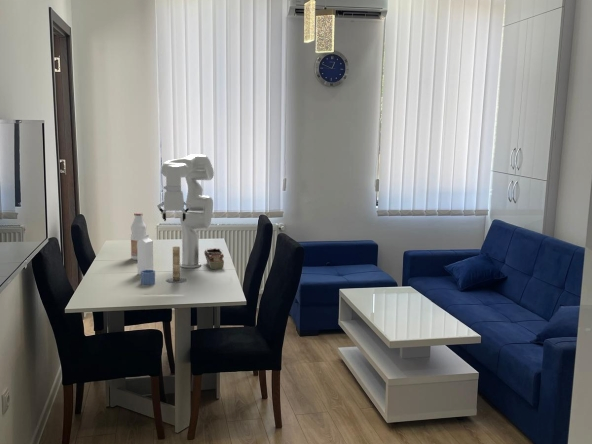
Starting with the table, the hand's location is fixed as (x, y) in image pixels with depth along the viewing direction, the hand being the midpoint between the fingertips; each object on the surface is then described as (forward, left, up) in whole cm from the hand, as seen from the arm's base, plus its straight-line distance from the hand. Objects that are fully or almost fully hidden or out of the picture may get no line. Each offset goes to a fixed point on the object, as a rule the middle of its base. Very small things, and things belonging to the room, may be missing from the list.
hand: (174, 220), depth 326 cm
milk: (-8, -17, -32) cm, 37 cm away
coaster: (+7, +1, -32) cm, 32 cm away
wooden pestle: (+7, +1, -31) cm, 32 cm away
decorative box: (-29, +18, -32) cm, 47 cm away
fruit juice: (-47, -26, -32) cm, 63 cm away
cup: (+12, -13, -32) cm, 36 cm away
